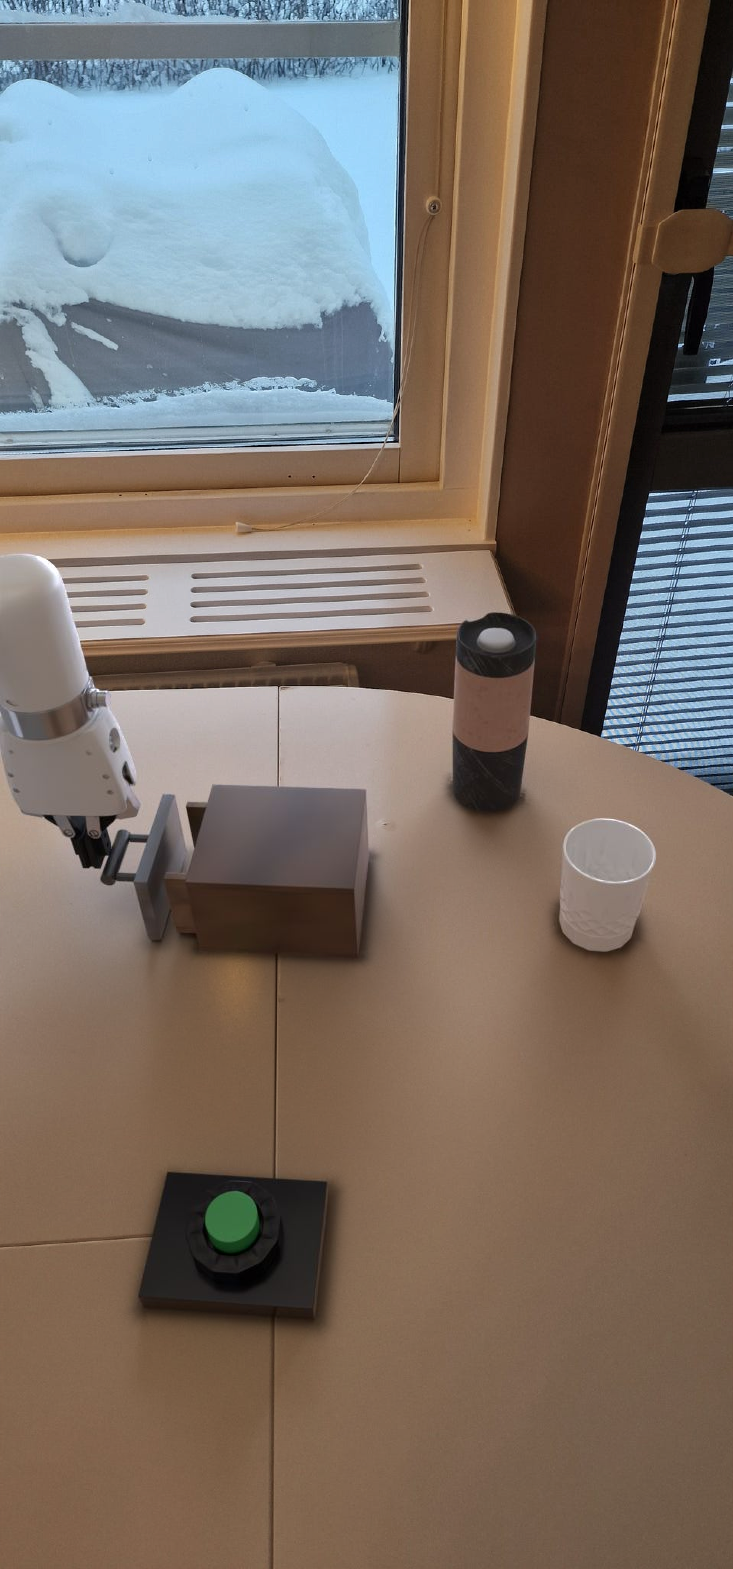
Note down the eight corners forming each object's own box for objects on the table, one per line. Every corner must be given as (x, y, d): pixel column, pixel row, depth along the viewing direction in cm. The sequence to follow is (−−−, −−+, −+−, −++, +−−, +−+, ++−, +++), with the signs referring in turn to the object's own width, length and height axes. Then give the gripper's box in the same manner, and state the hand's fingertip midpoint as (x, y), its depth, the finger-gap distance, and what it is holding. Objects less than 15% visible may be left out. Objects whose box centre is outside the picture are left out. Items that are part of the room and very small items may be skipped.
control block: (143, 1309, 72) (133, 1285, 69) (171, 1185, 78) (163, 1159, 76) (315, 1321, 71) (311, 1297, 68) (329, 1195, 78) (326, 1169, 75)
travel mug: (513, 822, 106) (528, 662, 93) (441, 807, 108) (446, 649, 95) (529, 775, 112) (545, 618, 98) (460, 762, 114) (467, 606, 100)
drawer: (102, 937, 96) (85, 880, 90) (133, 849, 104) (118, 792, 99) (293, 945, 94) (286, 888, 89) (308, 855, 103) (303, 798, 97)
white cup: (631, 968, 92) (648, 892, 86) (544, 945, 94) (554, 870, 88) (645, 905, 98) (662, 829, 91) (562, 885, 100) (573, 810, 93)
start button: (203, 1251, 71) (200, 1240, 70) (213, 1201, 74) (210, 1189, 73) (255, 1255, 71) (252, 1243, 70) (263, 1204, 73) (261, 1192, 72)
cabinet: (200, 953, 95) (184, 882, 89) (224, 854, 104) (212, 783, 98) (358, 960, 94) (354, 888, 87) (369, 859, 103) (366, 788, 97)
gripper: (147, 676, 87) (182, 831, 99) (-24, 674, 88) (31, 827, 100) (125, 733, 81) (165, 890, 94) (-58, 730, 83) (6, 885, 95)
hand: (96, 857), depth 97 cm, fingers closed
